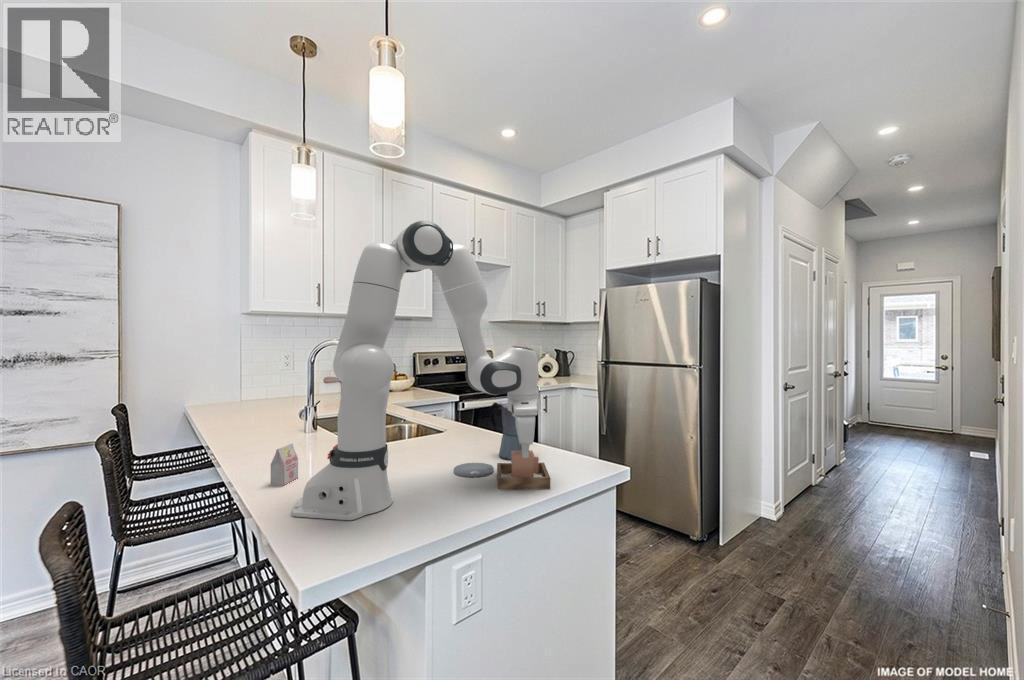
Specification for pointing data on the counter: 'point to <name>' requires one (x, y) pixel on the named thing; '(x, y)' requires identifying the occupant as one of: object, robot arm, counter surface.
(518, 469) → the terracotta clay block
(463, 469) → the slate coaster
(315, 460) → the counter surface
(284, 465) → the milk carton
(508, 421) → the moka pot
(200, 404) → the counter surface
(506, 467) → the frame
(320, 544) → the counter surface
